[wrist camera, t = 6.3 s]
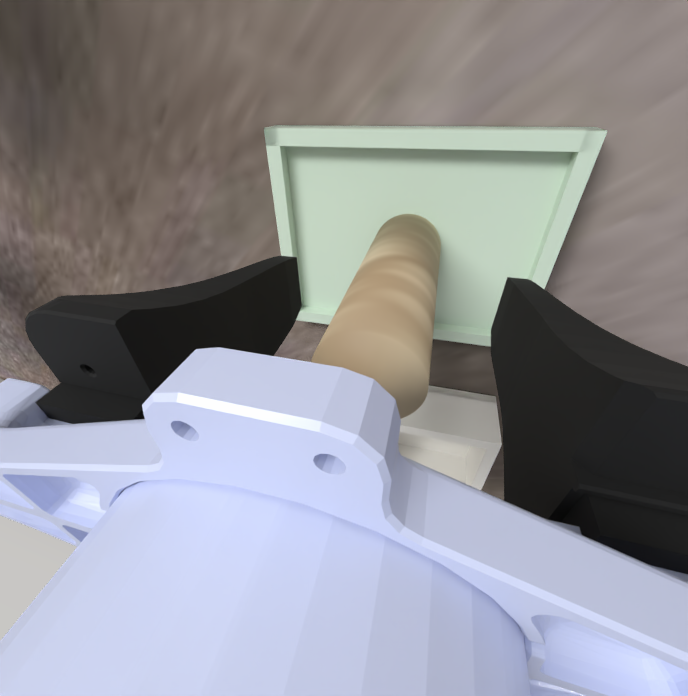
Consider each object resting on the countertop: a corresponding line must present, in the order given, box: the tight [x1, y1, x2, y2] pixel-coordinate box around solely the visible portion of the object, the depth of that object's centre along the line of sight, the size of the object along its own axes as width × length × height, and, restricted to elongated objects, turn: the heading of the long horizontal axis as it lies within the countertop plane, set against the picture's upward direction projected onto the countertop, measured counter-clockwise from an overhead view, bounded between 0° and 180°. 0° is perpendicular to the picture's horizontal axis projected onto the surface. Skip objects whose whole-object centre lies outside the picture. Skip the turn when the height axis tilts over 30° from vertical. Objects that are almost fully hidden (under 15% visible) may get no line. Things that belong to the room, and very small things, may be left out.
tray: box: [264, 125, 607, 347], centre depth 15 cm, size 12×9×1 cm
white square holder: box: [398, 385, 502, 490], centre depth 21 cm, size 6×6×4 cm
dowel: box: [311, 214, 441, 419], centre depth 12 cm, size 3×3×9 cm
